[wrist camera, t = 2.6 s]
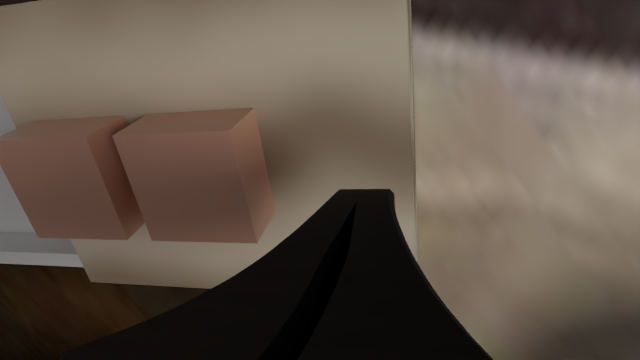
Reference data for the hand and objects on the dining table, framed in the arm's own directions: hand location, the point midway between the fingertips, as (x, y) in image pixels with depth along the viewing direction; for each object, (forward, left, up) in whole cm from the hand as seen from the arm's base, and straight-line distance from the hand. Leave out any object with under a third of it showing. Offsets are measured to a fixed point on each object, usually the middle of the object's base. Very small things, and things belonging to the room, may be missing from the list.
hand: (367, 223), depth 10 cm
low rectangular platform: (0, +7, -7) cm, 10 cm away
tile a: (0, +6, -4) cm, 7 cm away
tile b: (0, +11, -4) cm, 12 cm away
